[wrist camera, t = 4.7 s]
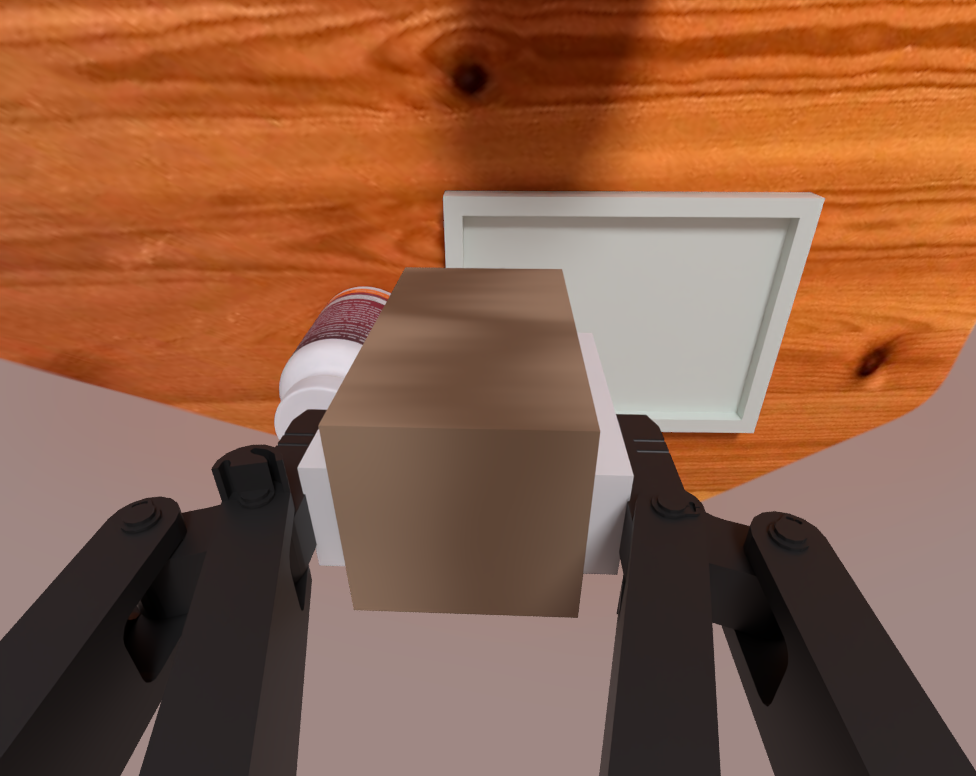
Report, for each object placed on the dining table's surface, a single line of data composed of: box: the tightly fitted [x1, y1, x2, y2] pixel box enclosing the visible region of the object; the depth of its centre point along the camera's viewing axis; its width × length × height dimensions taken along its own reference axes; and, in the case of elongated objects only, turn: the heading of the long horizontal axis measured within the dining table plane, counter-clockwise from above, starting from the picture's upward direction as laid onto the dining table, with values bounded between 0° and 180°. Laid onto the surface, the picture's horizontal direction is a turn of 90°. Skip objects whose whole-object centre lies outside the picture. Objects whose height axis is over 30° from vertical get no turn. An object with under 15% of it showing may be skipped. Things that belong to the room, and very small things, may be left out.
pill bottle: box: [274, 287, 391, 440], centre depth 30 cm, size 6×6×11 cm
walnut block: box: [318, 268, 600, 618], centre depth 15 cm, size 5×5×9 cm
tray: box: [443, 191, 825, 433], centre depth 33 cm, size 20×15×2 cm
